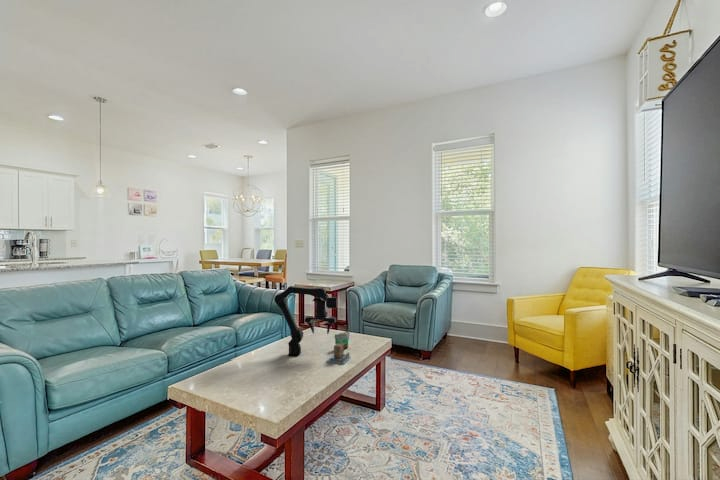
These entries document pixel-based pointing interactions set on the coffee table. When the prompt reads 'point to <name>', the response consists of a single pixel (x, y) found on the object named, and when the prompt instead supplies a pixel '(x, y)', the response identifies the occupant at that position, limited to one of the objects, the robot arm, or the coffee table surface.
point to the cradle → (339, 361)
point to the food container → (342, 339)
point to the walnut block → (338, 351)
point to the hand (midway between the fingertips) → (320, 333)
